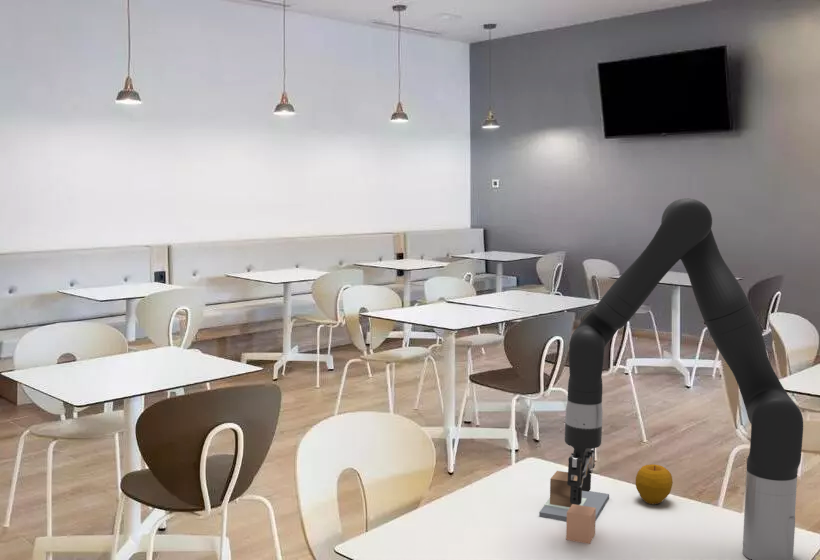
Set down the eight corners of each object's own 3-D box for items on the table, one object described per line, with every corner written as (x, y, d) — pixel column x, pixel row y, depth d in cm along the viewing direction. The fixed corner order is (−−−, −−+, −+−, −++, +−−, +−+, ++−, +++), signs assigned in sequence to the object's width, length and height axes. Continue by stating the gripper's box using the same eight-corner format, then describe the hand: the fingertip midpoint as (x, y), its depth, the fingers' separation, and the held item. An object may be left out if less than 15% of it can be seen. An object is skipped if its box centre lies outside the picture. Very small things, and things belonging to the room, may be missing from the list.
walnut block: (581, 499, 189) (582, 474, 188) (575, 508, 184) (576, 482, 183) (556, 495, 192) (557, 470, 191) (549, 504, 186) (550, 478, 185)
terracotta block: (595, 535, 173) (595, 507, 172) (589, 544, 168) (590, 516, 167) (571, 530, 175) (572, 504, 174) (566, 539, 170) (566, 512, 169)
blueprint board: (609, 498, 193) (609, 492, 193) (592, 525, 177) (592, 519, 177) (559, 490, 198) (559, 485, 198) (539, 516, 182) (539, 510, 182)
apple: (677, 509, 187) (679, 472, 186) (640, 509, 187) (642, 471, 186) (665, 495, 195) (667, 460, 194) (630, 495, 195) (631, 459, 194)
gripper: (594, 433, 161) (590, 512, 162) (608, 416, 174) (605, 489, 175) (557, 428, 164) (554, 505, 166) (574, 411, 177) (570, 483, 178)
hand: (580, 497), depth 170 cm, fingers open, 8 cm apart
